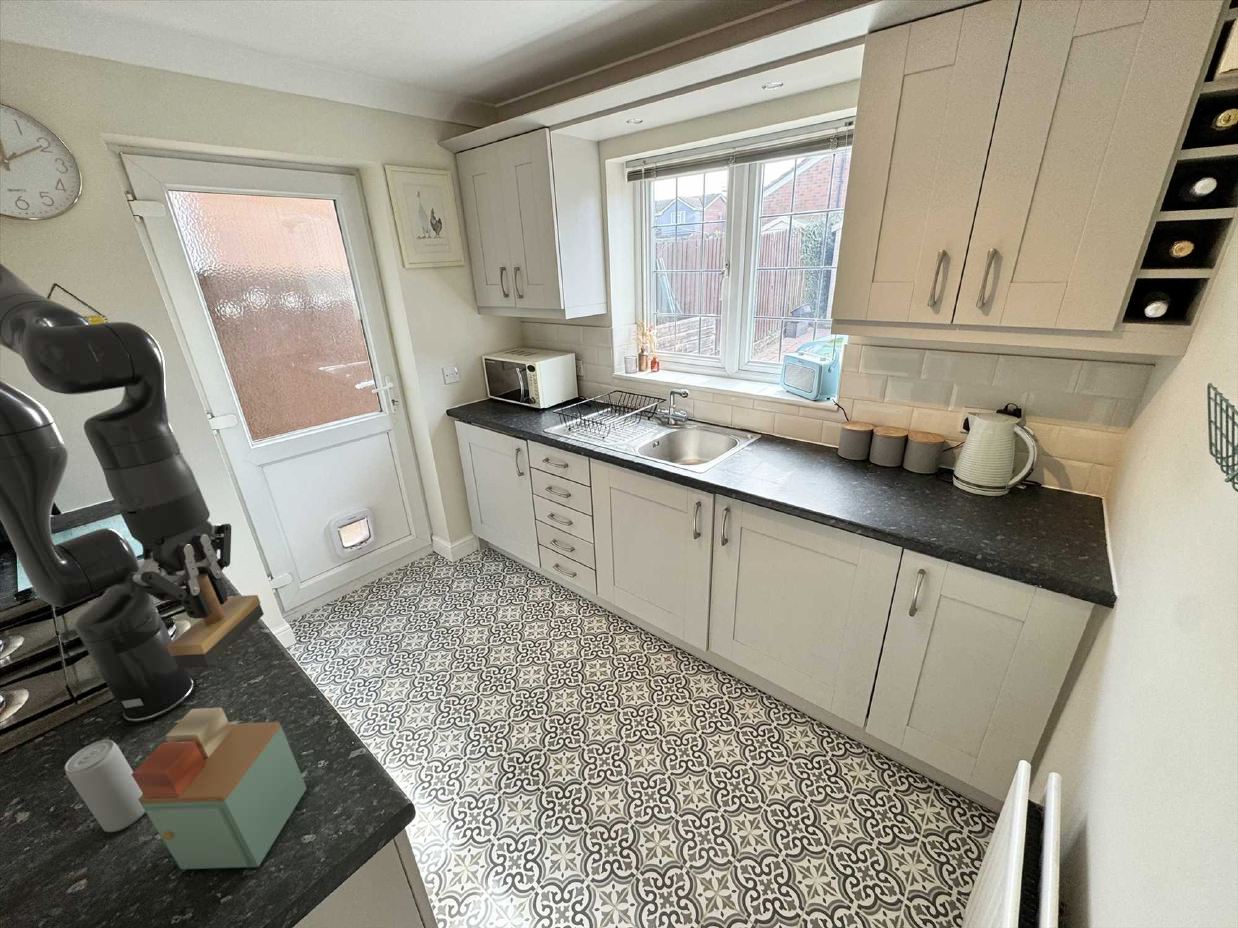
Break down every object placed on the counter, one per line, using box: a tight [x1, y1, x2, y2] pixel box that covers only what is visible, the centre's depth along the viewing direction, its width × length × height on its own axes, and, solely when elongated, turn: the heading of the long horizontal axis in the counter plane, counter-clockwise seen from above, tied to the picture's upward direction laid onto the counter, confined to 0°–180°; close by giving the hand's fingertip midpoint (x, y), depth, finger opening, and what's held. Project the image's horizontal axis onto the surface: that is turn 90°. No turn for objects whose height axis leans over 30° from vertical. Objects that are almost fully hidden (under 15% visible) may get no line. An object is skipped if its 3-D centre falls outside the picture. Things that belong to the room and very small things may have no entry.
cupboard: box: [138, 721, 308, 870], centre depth 62 cm, size 11×10×13 cm
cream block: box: [165, 707, 232, 758], centre depth 61 cm, size 4×4×4 cm
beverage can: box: [64, 739, 146, 833], centre depth 65 cm, size 5×5×12 cm
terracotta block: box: [132, 742, 206, 798], centre depth 57 cm, size 4×4×4 cm
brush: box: [167, 574, 264, 669], centre depth 65 cm, size 4×10×10 cm, turn 0°
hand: (210, 609), depth 65 cm, fingers closed on brush, 2 cm apart
